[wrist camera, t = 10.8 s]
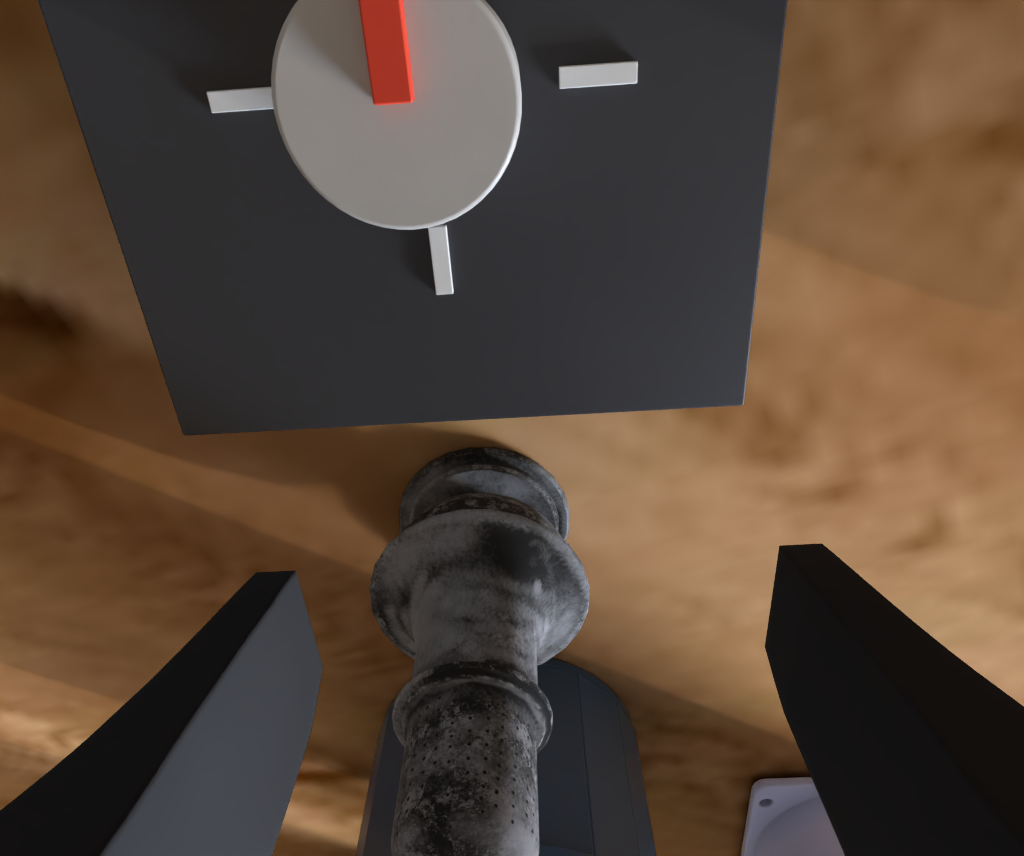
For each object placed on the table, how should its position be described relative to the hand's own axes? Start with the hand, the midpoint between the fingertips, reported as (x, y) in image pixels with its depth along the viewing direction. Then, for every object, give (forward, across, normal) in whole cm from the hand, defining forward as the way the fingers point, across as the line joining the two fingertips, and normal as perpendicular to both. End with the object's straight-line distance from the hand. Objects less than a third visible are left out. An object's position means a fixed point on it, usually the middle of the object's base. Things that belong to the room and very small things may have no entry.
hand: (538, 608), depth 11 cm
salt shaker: (+10, +2, +6) cm, 12 cm away
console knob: (+6, +2, -7) cm, 9 cm away
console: (+10, +2, -4) cm, 11 cm away
